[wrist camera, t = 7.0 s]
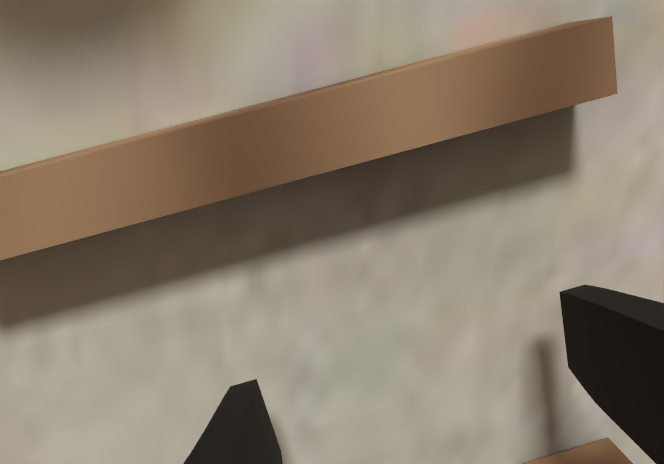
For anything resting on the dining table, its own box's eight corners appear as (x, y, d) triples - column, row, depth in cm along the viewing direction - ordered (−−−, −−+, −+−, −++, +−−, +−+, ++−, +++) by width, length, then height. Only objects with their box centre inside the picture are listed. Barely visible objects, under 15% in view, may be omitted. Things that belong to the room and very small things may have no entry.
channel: (569, 22, 12) (612, 15, 10) (611, 477, 16) (646, 518, 14) (-65, 188, 11) (-112, 206, 10) (151, 620, 15) (139, 677, 14)
